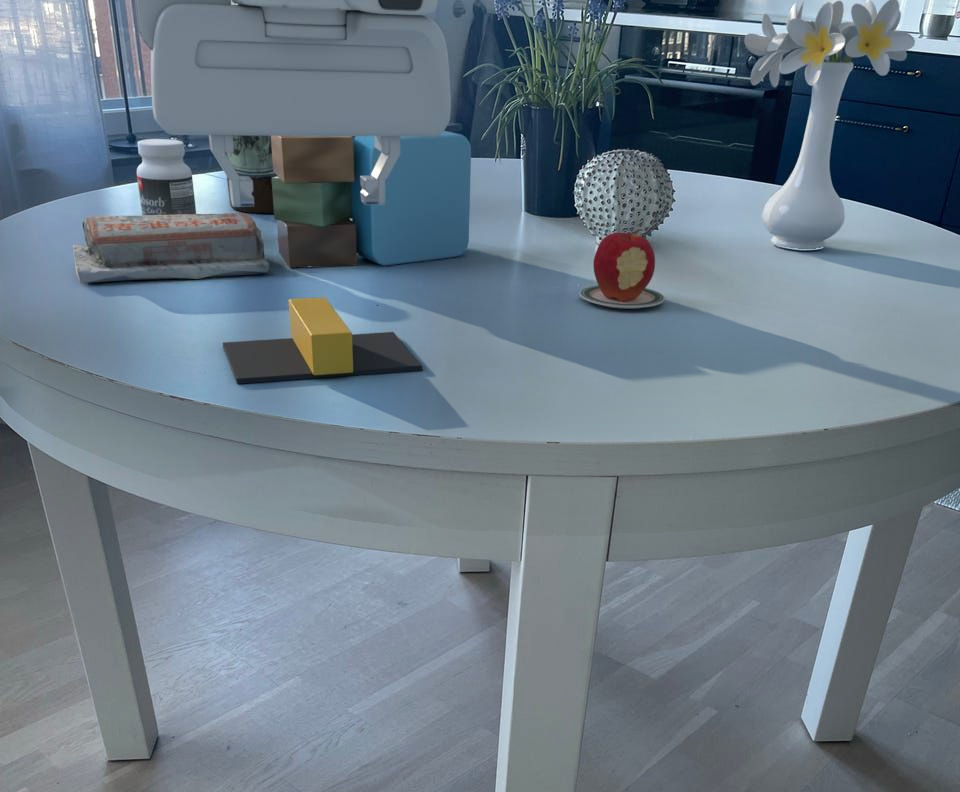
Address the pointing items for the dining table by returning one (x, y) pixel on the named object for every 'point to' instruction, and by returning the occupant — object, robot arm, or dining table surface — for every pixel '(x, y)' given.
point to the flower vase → (821, 105)
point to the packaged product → (169, 247)
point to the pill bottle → (164, 178)
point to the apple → (623, 273)
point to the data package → (415, 200)
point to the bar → (321, 336)
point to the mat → (289, 364)
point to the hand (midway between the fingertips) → (309, 204)
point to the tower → (314, 200)
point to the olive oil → (254, 169)
